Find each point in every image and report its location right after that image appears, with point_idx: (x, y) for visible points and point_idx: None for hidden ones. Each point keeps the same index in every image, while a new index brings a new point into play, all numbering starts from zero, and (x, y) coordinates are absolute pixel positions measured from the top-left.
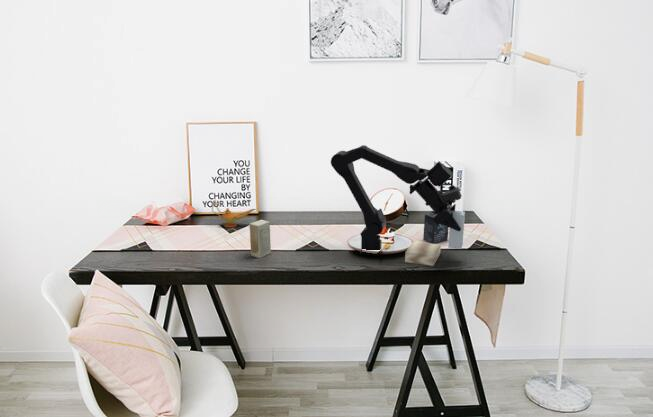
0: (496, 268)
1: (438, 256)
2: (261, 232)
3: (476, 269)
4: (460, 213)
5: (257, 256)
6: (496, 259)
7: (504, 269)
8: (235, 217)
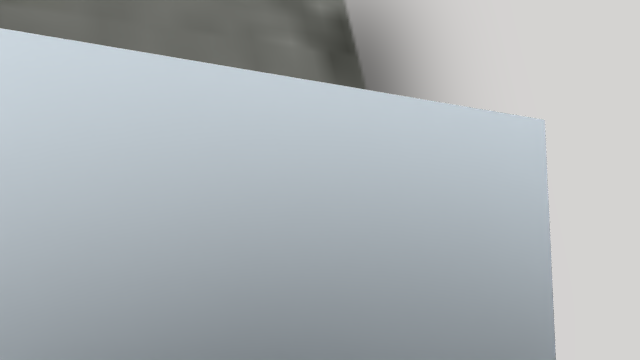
0: (331, 47)
1: None
2: None
3: None
4: (286, 248)
5: None
6: (148, 20)
7: (339, 2)
8: None
